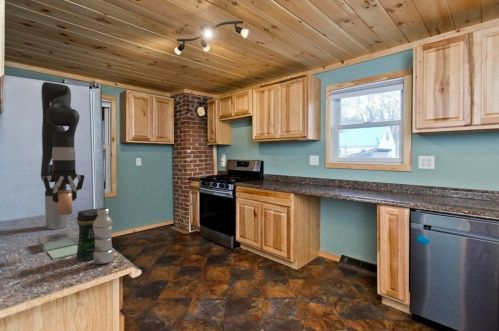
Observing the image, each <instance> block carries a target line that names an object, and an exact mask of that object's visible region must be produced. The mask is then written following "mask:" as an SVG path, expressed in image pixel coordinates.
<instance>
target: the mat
mask: <svg viewBox="0 0 499 331" xmlns="http://www.w3.org/2000/svg"><path fill="white" fill-rule="evenodd" d="M77 248H78V245H75V246H70V247H65V248H61V249H56V250H51V251H47V252H46V253H47V254H48V255H49V256H50V258H51V259H52V260H56V259H62V258H65V257H71V256H75V255H77Z"/></svg>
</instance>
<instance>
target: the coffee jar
mask: <svg viewBox="0 0 499 331" xmlns="http://www.w3.org/2000/svg"><path fill="white" fill-rule="evenodd" d="M100 208H101V207H100ZM100 208H93V209H92V208H91V209H85V210H79V211H78V213H77V218H76V224H77V226H78V245H77V246H78V248H77V254H76V258H77V259H78V260H79V261H90V260H93V254H94V248H95V237H94V230H93V222H94V220H95V219H96V217H97V216H98V215H97V209H100Z"/></svg>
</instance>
